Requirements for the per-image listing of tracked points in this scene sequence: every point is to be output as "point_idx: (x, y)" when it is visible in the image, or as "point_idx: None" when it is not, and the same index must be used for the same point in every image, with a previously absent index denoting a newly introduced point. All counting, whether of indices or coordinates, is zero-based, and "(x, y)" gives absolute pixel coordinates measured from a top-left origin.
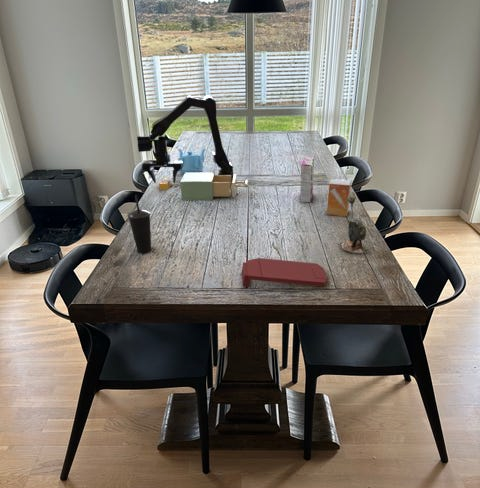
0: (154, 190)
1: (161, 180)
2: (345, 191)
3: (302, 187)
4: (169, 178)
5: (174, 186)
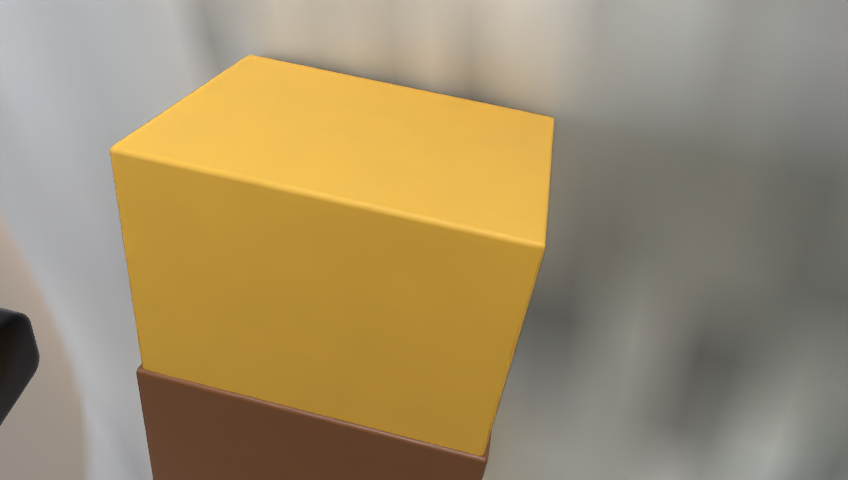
0: None
1: (177, 411)
2: None
3: None
4: (509, 246)
5: (664, 332)
